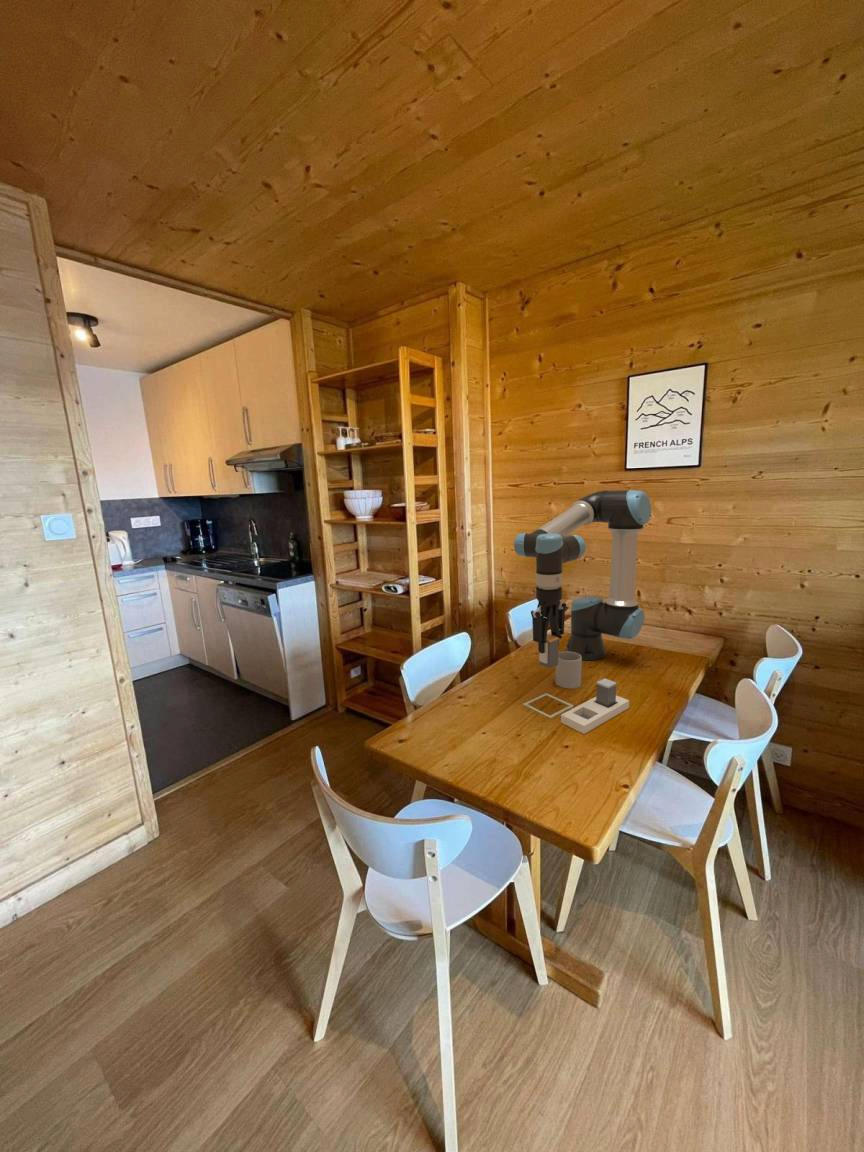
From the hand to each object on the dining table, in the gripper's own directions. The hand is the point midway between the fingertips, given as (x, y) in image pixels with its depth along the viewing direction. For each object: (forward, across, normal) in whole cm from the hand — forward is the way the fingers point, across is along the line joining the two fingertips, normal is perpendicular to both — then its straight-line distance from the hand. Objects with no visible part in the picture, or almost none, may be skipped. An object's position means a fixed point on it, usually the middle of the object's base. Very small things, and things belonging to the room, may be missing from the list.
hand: (548, 659), depth 141 cm
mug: (+17, +19, +6) cm, 26 cm away
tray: (+16, 0, 0) cm, 16 cm away
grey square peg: (+15, +11, -13) cm, 23 cm away
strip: (+16, +6, -13) cm, 22 cm away
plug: (+2, 0, 0) cm, 2 cm away
